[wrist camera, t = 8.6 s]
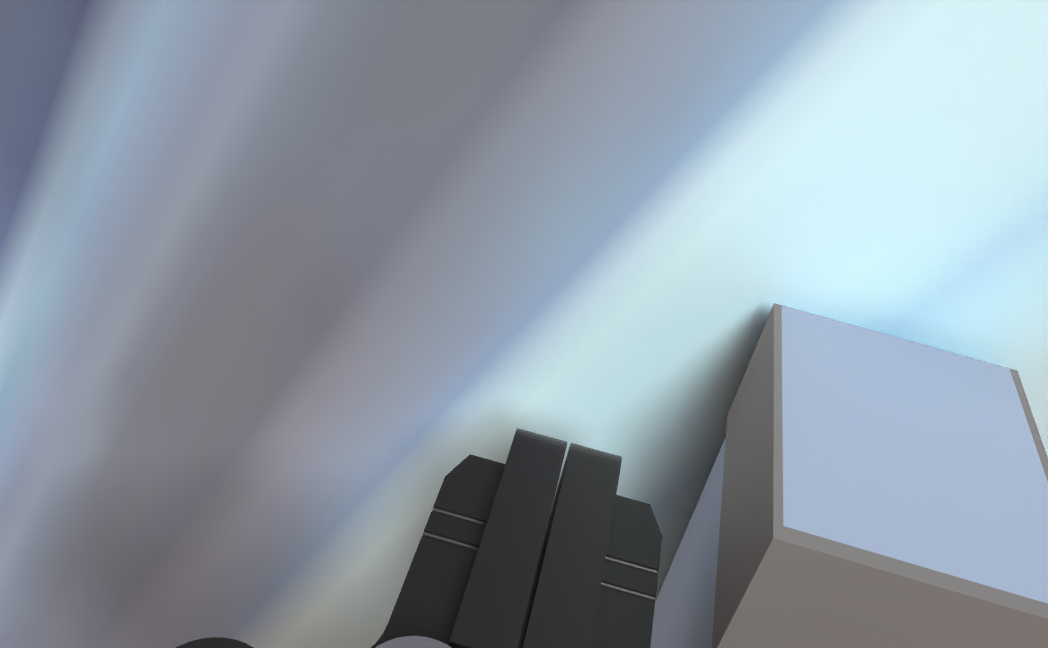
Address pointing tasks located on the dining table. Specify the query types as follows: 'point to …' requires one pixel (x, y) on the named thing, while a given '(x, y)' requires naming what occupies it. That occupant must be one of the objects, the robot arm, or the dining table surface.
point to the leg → (865, 503)
